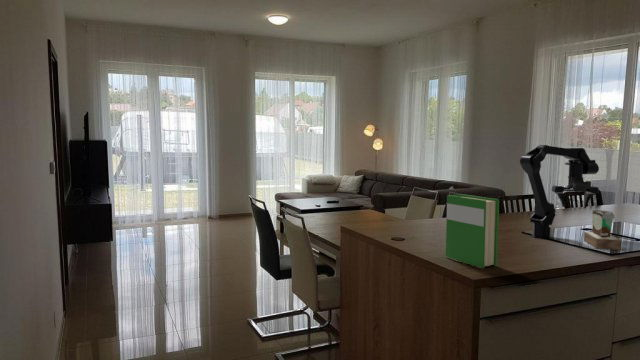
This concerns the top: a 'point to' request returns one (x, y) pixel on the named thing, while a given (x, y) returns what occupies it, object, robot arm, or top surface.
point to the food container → (602, 223)
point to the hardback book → (472, 229)
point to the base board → (602, 241)
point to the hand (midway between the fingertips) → (574, 207)
